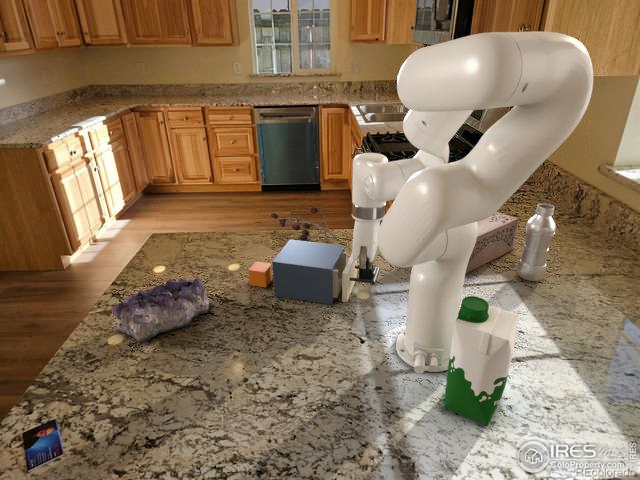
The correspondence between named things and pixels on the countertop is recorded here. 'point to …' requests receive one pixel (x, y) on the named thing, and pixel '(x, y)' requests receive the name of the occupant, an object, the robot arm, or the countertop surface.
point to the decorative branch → (305, 225)
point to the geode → (161, 308)
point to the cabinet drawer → (348, 276)
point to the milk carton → (479, 359)
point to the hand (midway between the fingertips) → (365, 280)
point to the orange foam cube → (260, 274)
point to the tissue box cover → (492, 239)
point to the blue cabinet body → (306, 271)
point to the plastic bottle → (537, 243)
